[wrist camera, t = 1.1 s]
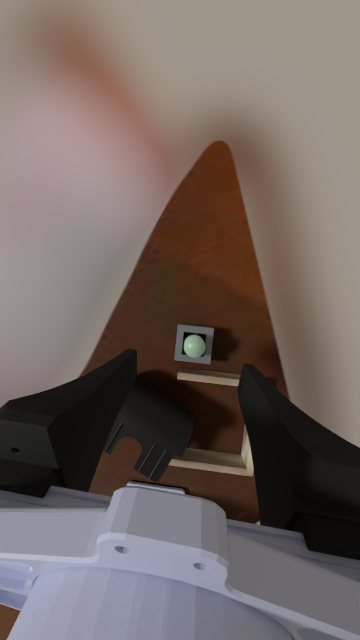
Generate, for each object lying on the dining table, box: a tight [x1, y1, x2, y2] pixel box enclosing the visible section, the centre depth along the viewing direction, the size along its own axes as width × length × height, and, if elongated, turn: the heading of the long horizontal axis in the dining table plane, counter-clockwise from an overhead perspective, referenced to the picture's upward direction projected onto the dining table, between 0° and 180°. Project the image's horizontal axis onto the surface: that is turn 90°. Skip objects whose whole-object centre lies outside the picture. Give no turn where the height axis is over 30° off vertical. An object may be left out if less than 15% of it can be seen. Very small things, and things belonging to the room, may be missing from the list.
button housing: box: [174, 324, 214, 364], centre depth 24 cm, size 4×4×2 cm
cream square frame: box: [169, 367, 254, 477], centre depth 24 cm, size 12×10×2 cm
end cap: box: [103, 379, 194, 482], centre depth 23 cm, size 10×7×7 cm
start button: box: [184, 334, 205, 358], centre depth 23 cm, size 2×2×3 cm
